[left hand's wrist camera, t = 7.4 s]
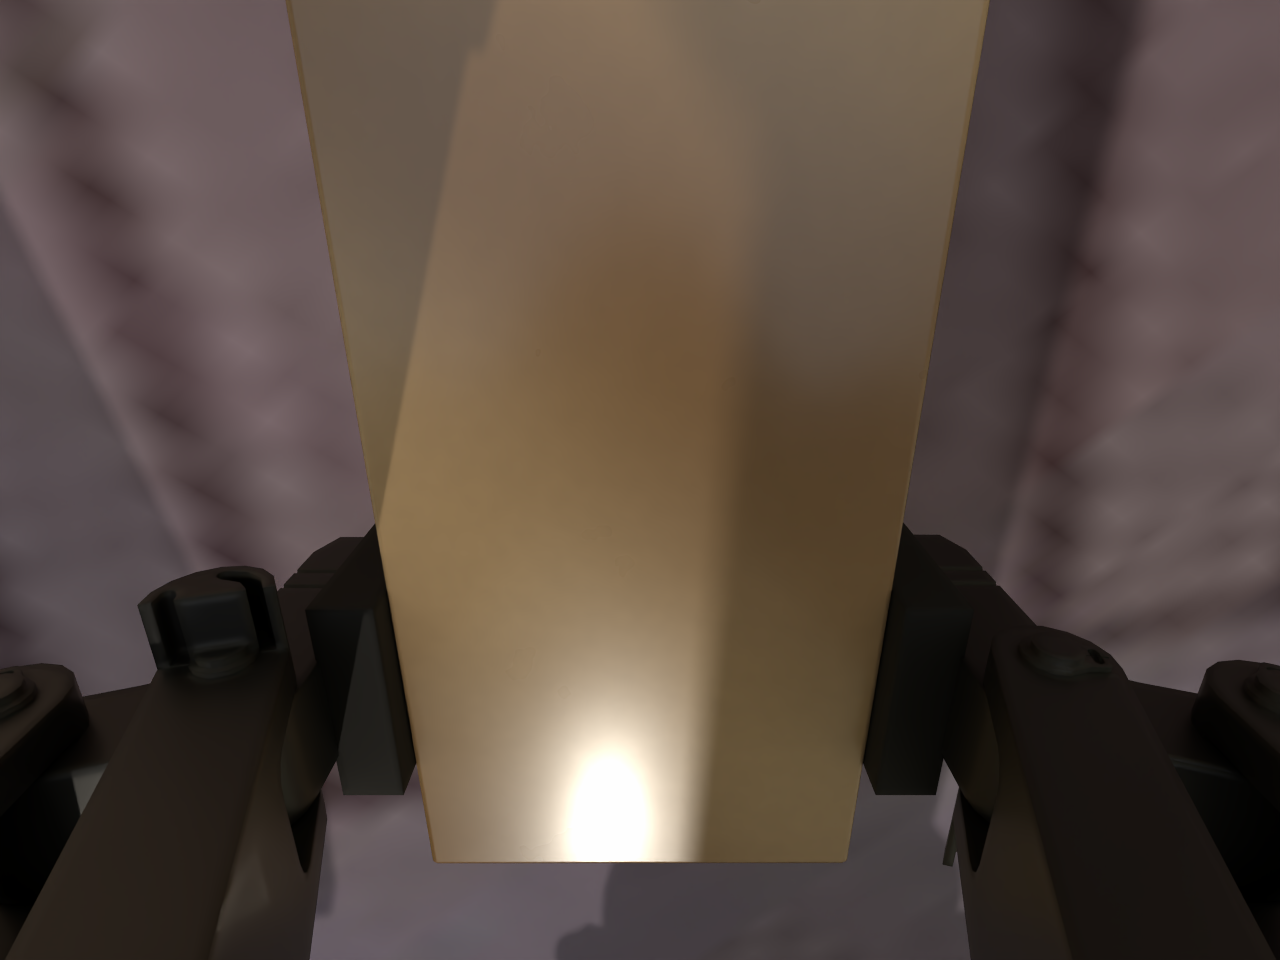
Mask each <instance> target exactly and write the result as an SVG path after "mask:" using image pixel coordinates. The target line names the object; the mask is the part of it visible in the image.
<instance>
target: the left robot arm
mask: <svg viewBox="0 0 1280 960" xmlns="http://www.w3.org/2000/svg"><path fill="white" fill-rule="evenodd" d="M297 571H298V572H297V573H294V574H293V575H292V576H291V577H290V578H289V580H288V581H287V582H286V583H285V584H284V588H280V589H279V590H278V591H277V589H276V584H275V580H274V576H273V575H272V574H270V573H269V572H267V571H266V570H264V569H261V568H255V567H249V566H231V567H219V568H214V569H210V570H205V571H200V572H196V573H193V574H190V575H187V576H184V577H181V578H179V579H176V580H173V581H171V582H169V583H167V584H165V585H163V586H162V587H160V588H158V589H156V590H154V591H153V592H151V593H150V594H149V595H148V596H147V597H145V598H144V599H143V600H142V601H141V602H140V603H139V604H138V605H137V606H138V609H139V612H140V615H141V618H142V622H143V625H144V628H145V631H146V634H147V638H148V641H149V644H150V647H151V650H152V653H153V657H154V660H155V663H156V666H157V669H158V670H157V672H156V674H155V676H154V678H153V679H152V681H151V683H150V684H146V685H142V686H137V687H132V688H126V689H121V690H116V691H111V692H105V693H100V694H95V695H90V696H84V697H82V694H81V692H80V689H79V686H78V684H77V681H76V678H75V675H74V673H73V672H72V671H70V670H69V669H67V668H66V667H64V666H63V665H55V664H44V663H40V664H33V665H26V666H13V667H9V668H4V669H0V960H309V959H310V951H311V943H312V935H313V927H314V919H315V912H316V904H317V896H318V888H319V880H320V872H321V864H322V856H323V848H324V840H325V832H326V824H327V815H326V808H325V803H324V798H323V794H322V790H321V788H322V786H323V784H324V782H325V781H326V779H327V777H328V775H329V773H330V771H331V769H332V768H333V766H334V764H335V762H336V761H337V766H338V771H339V776H340V780H341V785H342V790H343V795H404V792H405V790H406V787H407V785H408V782H409V780H410V777H411V775H412V772H413V770H414V767H415V765H416V757H415V751H414V746H413V740H412V734H411V728H410V722H409V716H408V711H407V705H406V699H405V693H404V687H403V682H402V676H401V670H400V664H399V658H398V652H397V647H396V641H395V635H394V629H393V623H392V617H391V612H390V606H389V600H388V594H387V588H386V583H385V577H384V571H383V565H382V559H381V553H380V548H379V542H378V536H377V530H376V524H374V526H373V527H372V528H371V529H370V530H369V532H368V533H367V534H366V535H365V537H340V538H338V539H336V540H335V541H333V542H331V543H329V544H327V545H326V546H324V547H322V548H320V549H319V550H317V551H315V552H313V554H312V555H311V556H310V557H309V558H308V559H307V560H306V561H305V562H304V563H303V564H302V565H301V567H300V568H299V569H298V570H297ZM943 758H944V760H945V762H946V763H947V765H948V767H949V769H950V771H951V773H952V774H953V776H954V778H955V780H956V782H957V784H958V786H959V790H958V794H957V798H956V803H955V807H954V812H953V816H952V821H951V825H950V830H949V834H948V839H947V843H946V847H945V853H944V859H943V865H947V866H953V862H954V858H955V853H956V852H957V854H958V862H959V870H960V878H961V886H962V894H963V902H964V909H965V917H966V925H967V933H968V941H969V949H970V957H971V960H1280V666H1278V665H1274V664H1269V663H1258V662H1250V661H1243V660H1232V661H1221V662H1217V663H1215V664H1214V665H1212V666H1211V667H1209V668H1208V669H1207V670H1206V673H1205V675H1204V678H1203V681H1202V683H1201V686H1200V689H1199V692H1198V694H1197V693H1192V692H1186V691H1181V690H1176V689H1171V688H1165V687H1160V686H1155V685H1149V684H1144V683H1139V682H1134V681H1130V680H1128V678H1127V676H1126V674H1125V672H1124V670H1123V669H1122V668H1121V666H1120V665H1119V664H1118V663H1117V662H1116V661H1115V659H1114V658H1113V657H1112V656H1111V655H1110V654H1109V653H1107V652H1106V651H1104V650H1103V649H1101V648H1100V647H1098V646H1096V645H1095V644H1093V643H1092V642H1090V641H1088V640H1085V639H1083V638H1080V637H1078V636H1076V635H1073V634H1071V633H1068V632H1065V631H1061V630H1057V629H1053V628H1048V627H1044V626H1036V624H1035V623H1034V622H1033V621H1032V620H1031V619H1030V618H1029V617H1028V616H1027V615H1026V614H1025V613H1024V612H1023V611H1022V609H1021V608H1020V607H1019V606H1018V605H1017V604H1016V603H1015V602H1014V601H1013V600H1012V599H1011V598H1010V597H1009V595H1008V594H1007V593H1006V592H1005V591H1004V590H1003V589H1002V588H1001V587H1000V586H996V581H995V580H994V579H993V578H992V577H991V576H990V575H989V574H988V573H987V572H986V571H982V566H981V565H980V564H979V563H978V562H977V561H976V560H975V559H974V558H973V557H972V556H971V555H970V554H969V552H968V551H967V550H965V549H964V548H962V547H960V546H958V545H957V544H955V543H953V542H951V541H949V540H948V539H946V538H944V537H942V536H940V535H913V534H912V533H911V531H910V530H909V529H908V528H907V526H906V525H905V524H904V523H903V525H902V531H901V537H900V543H899V549H898V555H897V561H896V567H895V573H894V579H893V585H892V591H891V597H890V603H889V609H888V615H887V621H886V627H885V633H884V639H883V645H882V651H881V657H880V663H879V669H878V675H877V681H876V687H875V693H874V699H873V705H872V711H871V717H870V723H869V729H868V735H867V741H866V747H865V753H864V759H863V764H864V766H865V769H866V772H867V774H868V777H869V779H870V782H871V784H872V787H873V789H874V792H875V794H876V795H936V791H937V786H938V781H939V777H940V772H941V767H942V762H943Z"/></svg>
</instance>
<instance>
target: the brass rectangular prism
mask: <svg viewBox="0 0 1280 960" xmlns="http://www.w3.org/2000/svg"><path fill="white" fill-rule="evenodd" d="M989 2H990V0H286V6H287V12H288V17H289V23H290V29H291V35H292V41H293V47H294V52H295V58H296V64H297V70H298V76H299V82H300V87H301V93H302V99H303V105H304V111H305V117H306V122H307V128H308V134H309V140H310V146H311V151H312V157H313V163H314V169H315V175H316V181H317V186H318V192H319V198H320V204H321V210H322V216H323V221H324V227H325V233H326V239H327V245H328V250H329V256H330V262H331V268H332V274H333V280H334V285H335V291H336V297H337V303H338V309H339V315H340V320H341V326H342V332H343V338H344V344H345V350H346V355H347V361H348V367H349V373H350V379H351V384H352V390H353V396H354V402H355V408H356V414H357V419H358V425H359V431H360V437H361V443H362V449H363V454H364V460H365V466H366V472H367V478H368V483H369V489H370V495H371V501H372V507H373V513H374V518H375V524H376V530H377V536H378V542H379V548H380V553H381V559H382V565H383V571H384V577H385V583H386V588H387V594H388V600H389V606H390V612H391V617H392V623H393V629H394V635H395V641H396V647H397V652H398V658H399V664H400V670H401V676H402V682H403V687H404V693H405V699H406V705H407V711H408V716H409V722H410V728H411V734H412V740H413V746H414V751H415V757H416V763H417V769H418V775H419V781H420V786H421V792H422V798H423V804H424V810H425V816H426V821H427V827H428V833H429V839H430V845H431V850H432V856H433V861H434V862H436V863H843V862H845V861H846V860H847V855H848V849H849V843H850V837H851V831H852V825H853V819H854V813H855V807H856V801H857V795H858V789H859V783H860V777H861V771H862V765H863V759H864V753H865V747H866V741H867V735H868V729H869V723H870V717H871V711H872V705H873V699H874V693H875V687H876V681H877V675H878V669H879V663H880V657H881V651H882V645H883V639H884V633H885V627H886V621H887V615H888V609H889V603H890V597H891V591H892V585H893V579H894V573H895V567H896V561H897V555H898V549H899V543H900V537H901V531H902V525H903V519H904V513H905V507H906V501H907V495H908V489H909V483H910V477H911V471H912V465H913V459H914V453H915V447H916V441H917V435H918V429H919V423H920V417H921V411H922V405H923V399H924V393H925V387H926V381H927V375H928V369H929V362H930V356H931V350H932V344H933V338H934V332H935V326H936V320H937V314H938V308H939V302H940V296H941V290H942V284H943V278H944V272H945V266H946V260H947V254H948V248H949V242H950V236H951V230H952V224H953V218H954V212H955V206H956V200H957V194H958V188H959V182H960V176H961V170H962V164H963V158H964V152H965V146H966V140H967V134H968V128H969V122H970V116H971V110H972V104H973V98H974V92H975V86H976V80H977V74H978V68H979V62H980V56H981V50H982V44H983V38H984V32H985V26H986V20H987V14H988V8H989Z"/></svg>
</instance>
